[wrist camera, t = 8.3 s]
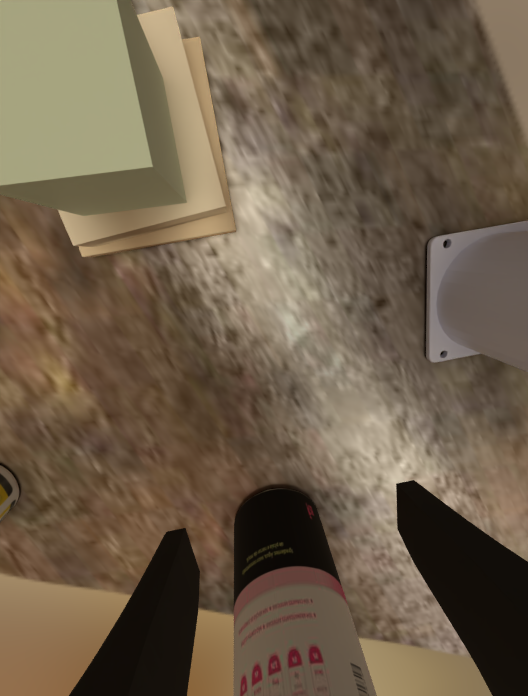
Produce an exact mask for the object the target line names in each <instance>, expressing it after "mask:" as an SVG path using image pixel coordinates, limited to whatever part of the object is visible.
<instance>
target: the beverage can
mask: <svg viewBox="0 0 528 696" xmlns="http://www.w3.org/2000/svg"><path fill="white" fill-rule="evenodd" d="M234 696H377V695H376V692H375V689H374V686H373V683H372V679H371V676H370V673H369V670H368V667H367V664H366V661H365V657H364V654H363V651H362V648H361V645H360V642H359V639H358V636H357V633H356V629H355V626H354V623H353V620H352V617H351V614H350V611H349V608H348V604H347V601H346V598H345V595H344V592H343V589H342V586H341V583H340V579H339V576H338V573H337V570H336V567H335V564H334V561H333V558H332V555H331V551H330V548H329V545H328V542H327V539H326V536H325V533H324V530H323V526H322V523H321V520H320V517H319V514H318V511H317V508H316V506H315V505H314V503H313V502H312V501H311V500H310V499H309V498H308V497H307V496H306V495H304V494H302V493H300V492H298V491H295V490H290V489H281V488H279V489H270V490H266V491H263V492H261V493H259V494H257V495H255V496H253V497H252V498H250V499H249V500H248V501H246V502H245V503H244V504H243V505H242V507H241V508H240V509H239V511H238V513H237V515H236V518H235V523H234Z"/></svg>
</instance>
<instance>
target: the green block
mask: <svg viewBox="0 0 528 696" xmlns="http://www.w3.org/2000/svg"><path fill="white" fill-rule="evenodd" d="M0 195H4V196H7V197H11V198H15V199H19V200H23V201H27V202H31V203H34V204H38V205H42V206H46V207H50V208H54V209H58V210H62V211H65V212H69V213H73V214H77V215H81V216H88V215H96V214H104V213H111V212H119V211H127V210H135V209H142V208H150V207H158V206H166V205H174V204H181V203H187V201H186V196H185V190H184V185H183V180H182V175H181V170H180V164H179V159H178V154H177V149H176V144H175V138H174V133H173V128H172V123H171V117H170V112H169V107H168V102H167V97H166V91H165V86H164V81H163V77H162V74H161V72H160V70H159V67H158V65H157V62H156V60H155V58H154V55H153V53H152V50H151V48H150V46H149V43H148V41H147V38H146V36H145V34H144V31H143V29H142V26H141V24H140V22H139V19H138V17H137V14H136V12H135V10H134V7H133V5H132V2H131V0H0Z"/></svg>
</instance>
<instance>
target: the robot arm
mask: <svg viewBox="0 0 528 696" xmlns="http://www.w3.org/2000/svg"><path fill="white" fill-rule="evenodd" d="M445 240H446V241H447V245H446V247H445V248H444V247H443V242H444V241H445ZM442 351H444V352H443V354H442V355H441V356H440V353H441V352H442ZM477 354H484V355H486V356H489V357H491V358H494V359H496V360H499V361H501V362H504V363H506V364H509V365H511V366H514V367H516V368H519V369H521V370H524V371H526V372H528V220H527V221H521V222H515V223H510V224H504V225H498V226H492V227H487V228H481V229H475V230H470V231H464V232H458V233H453V234H447V235H441V236H436V237H433V238H432V239H430V240H429V242H428V245H427V316H426V358H427V359H428V360H429V361H431V362H441V361H446V360H451V359H456V358H461V357H467V356H472V355H477ZM396 489H397V526H398V531H399V533H400V535H401V537H402V539H403V541H404V543H405V546H406V548H407V550H408V552H409V554H410V556H411V558H412V560H413V562H414V563H415V565H416V567H417V568H418V570H419V572H420V573H421V575H422V577H423V578H424V580H425V582H426V583H427V585H428V587H429V588H430V590H431V592H432V593H433V595H434V596H435V598H436V600H437V601H438V603H439V604H440V606H441V608H442V609H443V611H444V613H445V614H446V616H447V617H448V619H449V621H450V622H451V624H452V626H453V627H454V629H455V630H456V632H457V634H458V635H459V637H460V639H461V640H462V642H463V643H464V645H465V647H466V648H467V650H468V652H469V653H470V655H471V657H472V659H473V660H474V662H475V664H476V665H477V667H478V669H479V671H480V673H481V675H482V677H483V678H484V680H485V682H486V684H487V686H488V688H489V690H490V692H491V694H492V695H493V696H528V562H527V561H526V560H524V559H523V558H521V557H520V556H518V555H517V554H515V553H514V552H512V551H511V550H509V549H508V548H506V547H505V546H503V545H502V544H500V543H499V542H497V541H496V540H494V539H493V538H491V537H490V536H489V535H487V534H486V533H484V532H483V531H482V530H480V529H479V528H477V527H476V526H475V525H473V524H472V523H470V522H469V521H468V520H466V519H465V518H463V517H462V516H461V515H459V514H458V513H457V512H455V511H454V510H453V509H451V508H450V507H449V506H447V505H446V504H445V503H443V502H442V501H441V500H439V499H438V498H437V497H435V496H434V495H433V494H431V493H430V492H429V491H428V490H426V489H425V488H424V487H422V486H421V485H420V484H418V483H417V482H416V481H414V480H412V481H408V482H403V483H398V484H396ZM199 578H200V571H199V568H198V565H197V562H196V559H195V556H194V553H193V550H192V547H191V544H190V541H189V538H188V535H187V532H186V529H185V528H183V529H178V530H173V531H168V532H166V534H165V535H164V537H163V539H162V541H161V543H160V545H159V547H158V548H157V550H156V552H155V554H154V556H153V558H152V560H151V562H150V564H149V565H148V567H147V569H146V571H145V573H144V575H143V576H142V578H141V580H140V582H139V584H138V585H137V587H136V589H135V591H134V592H133V594H132V596H131V598H130V600H129V601H128V603H127V605H126V607H125V609H124V610H123V612H122V613H121V615H120V617H119V618H118V620H117V622H116V623H115V625H114V627H113V628H112V630H111V631H110V633H109V635H108V636H107V638H106V640H105V641H104V643H103V644H102V646H101V648H100V649H99V651H98V653H97V654H96V656H95V657H94V659H93V661H92V662H91V664H90V665H89V666H88V668H87V670H86V671H85V673H84V674H83V676H82V677H81V679H80V680H79V682H78V683H77V685H76V686H75V687H74V689H73V690H72V692H71V693H70V695H69V696H187V689H188V682H189V675H190V668H191V660H192V653H193V646H194V637H195V631H196V623H197V615H198V602H199Z"/></svg>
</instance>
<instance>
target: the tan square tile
mask: <svg viewBox="0 0 528 696" xmlns="http://www.w3.org/2000/svg"><path fill="white" fill-rule="evenodd" d="M137 17H138V19H139V22H140V24H141V26H142V29H143V31H144V34H145V36H146V38H147V41H148V43H149V46H150V48H151V50H152V53H153V55H154V58H155V60H156V62H157V65H158V67H159V70H160V72H161V74H162V77H163V81H164V86H165V91H166V97H167V102H168V107H169V112H170V117H171V123H172V128H173V133H174V138H175V144H176V149H177V154H178V159H179V164H180V170H181V175H182V180H183V185H184V190H185V196H186V201H187V203H181V204H174V205H166V206H158V207H150V208H142V209H135V210H127V211H119V212H111V213H104V214H96V215H88V216H81V215H77V214H73V213H69V212H65V211H62V210H58V211H59V214H60V216H61V218H62V221H63V223H64V225H65V228H66V230H67V232H68V235H69V237H70V239H71V241H72V244H73V246H84V247H96V246H100V245H104V244H107V243H111V242H115V241H119V240H123V239H127V238H130V237H134V236H138V235H142V234H146V233H150V232H153V231H157V230H161V229H165V228H169V227H173V226H176V225H180V224H184V223H188V222H192V221H195V220H199V219H203V218H207V217H211V216H215V215H218V214H222V213H226V212H227V211H226V205H225V201H224V197H223V193H222V190H221V186H220V182H219V178H218V175H217V171H216V167H215V163H214V160H213V156H212V152H211V148H210V144H209V141H208V137H207V133H206V129H205V126H204V122H203V118H202V114H201V111H200V107H199V103H198V99H197V95H196V92H195V88H194V84H193V80H192V77H191V73H190V69H189V65H188V62H187V58H186V54H185V50H184V46H183V43H182V39H181V35H180V31H179V28H178V24H177V20H176V16H175V13H174V9H173V6H172V7H168V8H164V9H160V10H156V11H152V12H148V13H144V14H140V15H137Z"/></svg>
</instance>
